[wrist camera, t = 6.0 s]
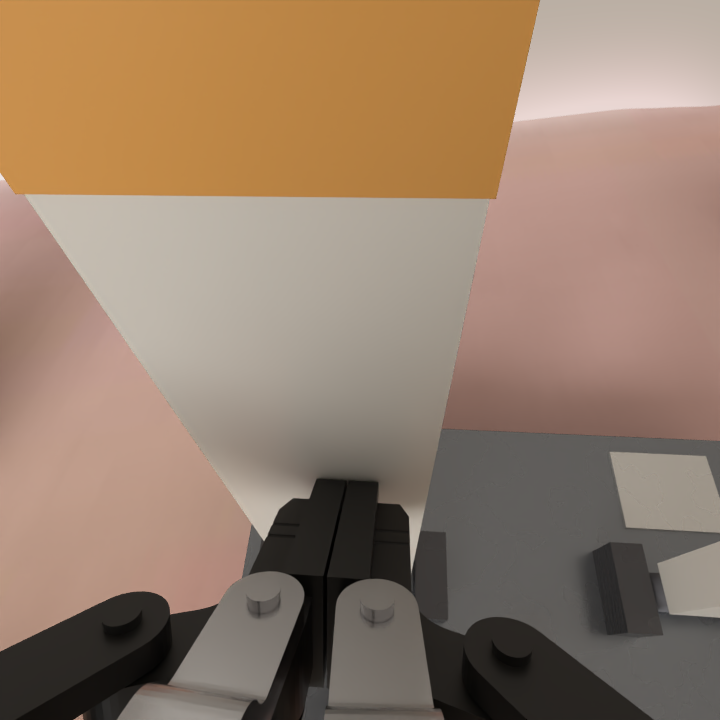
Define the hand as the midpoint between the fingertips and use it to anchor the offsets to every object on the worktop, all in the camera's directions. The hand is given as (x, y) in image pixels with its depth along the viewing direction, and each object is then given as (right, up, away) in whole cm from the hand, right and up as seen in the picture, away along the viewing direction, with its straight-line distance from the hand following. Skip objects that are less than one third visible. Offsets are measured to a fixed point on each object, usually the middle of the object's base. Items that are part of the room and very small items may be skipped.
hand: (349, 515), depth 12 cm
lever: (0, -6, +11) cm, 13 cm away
